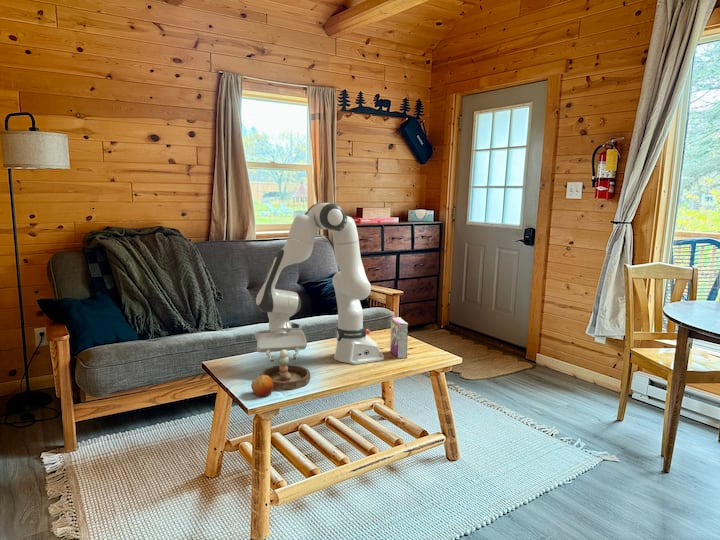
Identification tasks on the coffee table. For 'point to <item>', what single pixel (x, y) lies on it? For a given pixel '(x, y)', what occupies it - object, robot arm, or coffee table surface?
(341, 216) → the robot arm
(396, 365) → the coffee table surface
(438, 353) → the coffee table surface
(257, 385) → the fruit
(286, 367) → the bead column
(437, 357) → the coffee table surface
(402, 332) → the candy bar box
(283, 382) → the walnut tray
